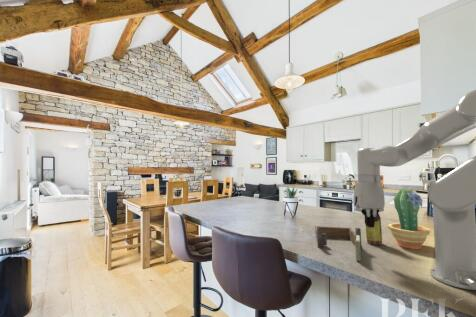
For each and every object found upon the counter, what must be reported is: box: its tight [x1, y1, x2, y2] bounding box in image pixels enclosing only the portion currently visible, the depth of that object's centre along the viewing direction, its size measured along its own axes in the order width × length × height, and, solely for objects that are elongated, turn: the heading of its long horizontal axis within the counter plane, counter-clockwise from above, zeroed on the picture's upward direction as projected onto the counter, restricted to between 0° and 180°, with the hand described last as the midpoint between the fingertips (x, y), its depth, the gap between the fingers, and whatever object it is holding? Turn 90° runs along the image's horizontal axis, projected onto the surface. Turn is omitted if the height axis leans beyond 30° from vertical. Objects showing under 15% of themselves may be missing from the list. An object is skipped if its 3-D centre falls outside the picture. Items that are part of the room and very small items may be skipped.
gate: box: [354, 235, 362, 261], centre depth 88 cm, size 12×2×7 cm, turn 150°
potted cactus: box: [387, 188, 431, 250], centre depth 99 cm, size 15×15×25 cm
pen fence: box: [314, 225, 362, 251], centre depth 104 cm, size 18×18×9 cm
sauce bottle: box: [365, 212, 383, 246], centre depth 103 cm, size 6×6×20 cm
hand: (369, 226), depth 86 cm, fingers closed
